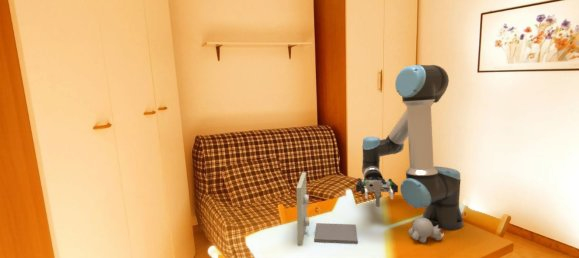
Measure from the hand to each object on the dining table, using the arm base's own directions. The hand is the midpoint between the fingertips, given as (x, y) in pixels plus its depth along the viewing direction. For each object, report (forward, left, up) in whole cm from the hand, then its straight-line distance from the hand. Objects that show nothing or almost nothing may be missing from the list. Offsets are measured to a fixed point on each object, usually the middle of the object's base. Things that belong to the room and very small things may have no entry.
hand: (379, 195), depth 123 cm
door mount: (+19, -5, -18) cm, 26 cm away
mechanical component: (0, -5, -6) cm, 8 cm away
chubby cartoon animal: (-18, -3, -18) cm, 26 cm away
